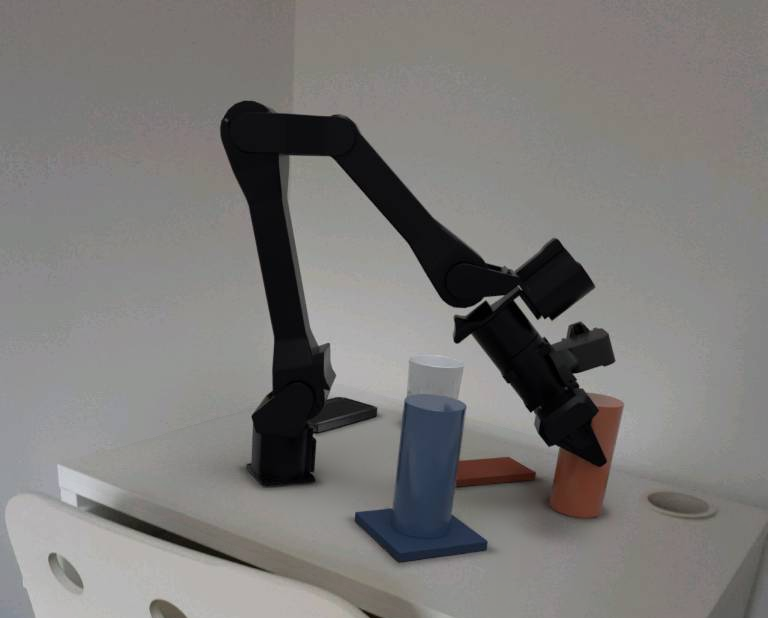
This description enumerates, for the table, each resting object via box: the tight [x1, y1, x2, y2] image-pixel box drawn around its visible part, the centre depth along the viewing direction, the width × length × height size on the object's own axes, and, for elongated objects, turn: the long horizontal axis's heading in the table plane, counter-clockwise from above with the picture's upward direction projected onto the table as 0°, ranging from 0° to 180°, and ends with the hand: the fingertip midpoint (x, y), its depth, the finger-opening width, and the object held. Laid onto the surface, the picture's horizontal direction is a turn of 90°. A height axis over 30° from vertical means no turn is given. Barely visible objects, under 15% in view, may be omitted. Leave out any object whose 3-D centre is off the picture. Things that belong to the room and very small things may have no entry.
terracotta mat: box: [455, 456, 537, 488], centre depth 102 cm, size 12×6×1 cm, turn 117°
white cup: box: [406, 354, 465, 400], centre depth 117 cm, size 8×8×10 cm
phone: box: [306, 396, 379, 433], centre depth 118 cm, size 8×1×15 cm
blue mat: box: [354, 507, 489, 563], centre depth 83 cm, size 10×10×1 cm
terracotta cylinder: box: [548, 392, 625, 519], centre depth 92 cm, size 6×6×13 cm
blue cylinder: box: [391, 394, 468, 538], centre depth 80 cm, size 6×6×13 cm
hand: (597, 455), depth 92 cm, fingers closed on terracotta cylinder, 6 cm apart
